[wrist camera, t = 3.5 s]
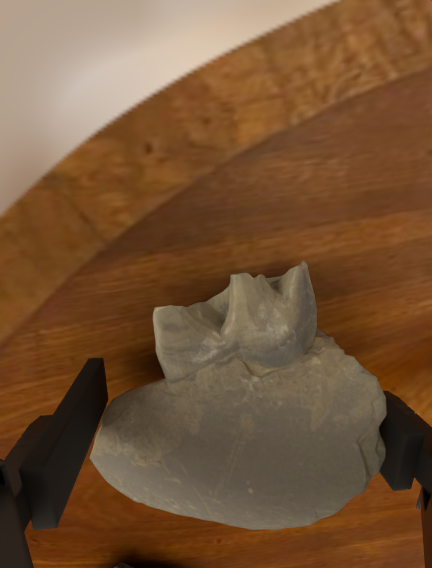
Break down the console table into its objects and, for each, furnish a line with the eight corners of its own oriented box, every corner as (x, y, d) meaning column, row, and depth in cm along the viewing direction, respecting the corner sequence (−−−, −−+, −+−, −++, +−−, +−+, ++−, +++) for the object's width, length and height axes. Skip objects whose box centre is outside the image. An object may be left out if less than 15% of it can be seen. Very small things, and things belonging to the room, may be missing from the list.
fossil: (285, 337, 22) (286, 226, 15) (399, 485, 14) (502, 386, 7) (107, 417, 19) (15, 324, 12) (124, 651, 11) (-93, 730, 5)
